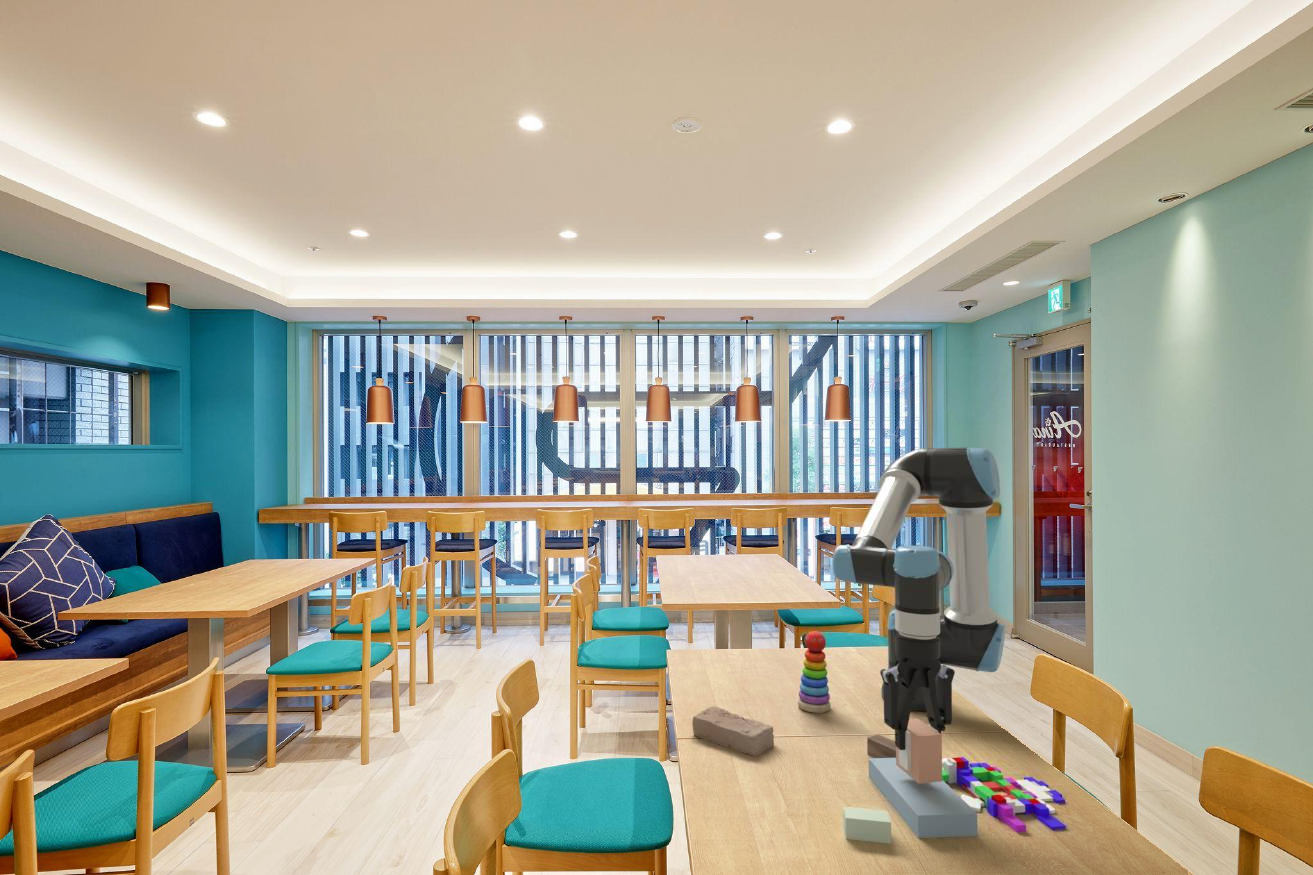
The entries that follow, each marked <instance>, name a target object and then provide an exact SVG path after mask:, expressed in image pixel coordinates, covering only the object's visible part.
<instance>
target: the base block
mask: <svg viewBox="0 0 1313 875" xmlns="http://www.w3.org/2000/svg"><path fill="white" fill-rule="evenodd" d="M868 778H869V779H870V780H871V782H872V783H873V785H874V786H875V787H876V788H877V790H879V792H880V793H881V794H882V796H883V797H884V798H885V799H886V800H887V801H888V803H889V804H890V805H891V807H893V809H894V810H895V811H896V813H897V814H898V815H899V816H900V818H901V820H902V821H904V823H905V824H906V826H908V828H909V829H910V830H911V831H912V833H913V834H914V835H915V836H916V837H917V838H918V839H925V838H926V839H928V838H951V837H952V838H953V837H955V838H956V837H959V838H960V837H977V836H978V812H977V811H974V810H973V809H972V808H971V807H970V806H969V805H968V804H967V803H966V802H965V801H964V800H963V799H962V798H961V796H960V795H959V794H958V793H957V792H956V791H954V789H953V788H951V787H950V785H948V783H947V782H946V781H943V780H942V781H941V782H931V783H922V784H919V783H917V782H916V781H915V780H914V779H913V778H911V777H910V776H909V775H908V774H907V773H905V772H904V771H903V770H902V769H900V768H899V767H898V766H897V765H896V758H875V757H873V758H872V757H871V758H870V757H869V758H868Z"/></svg>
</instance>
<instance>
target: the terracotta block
mask: <svg viewBox="0 0 1313 875" xmlns="http://www.w3.org/2000/svg"><path fill="white" fill-rule="evenodd" d="M928 725H929V724H926V723H925V722H924V721H922V720H921V719H919V718H909V722H908V727H907V730H908V731H909V732H910V733H911V771H907V770H906V769H905V768H904V767H902V766H901V765H900V764H899V749H898V748H897V747H896V765H897V766H898V767H899V768H900V769H902V770H903V771H904V772H905V773H907V774H908V775H909V776H910V777H911V778H913V779H914V780H915V781H916V782H917V783H919V784H922V783H931V782H941V781H942V769H943V766H942V759H943V741H942V740H943V739H942V736H943V735H942V733H941V734H940V733H939V732H937V731H936V730H934V729H933V728H931V727H930V726H928Z"/></svg>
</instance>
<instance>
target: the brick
mask: <svg viewBox="0 0 1313 875" xmlns="http://www.w3.org/2000/svg"><path fill="white" fill-rule="evenodd" d="M691 724H692V731H693V732H692V733H693V736H694V735H695V736H696V737H698V738H701V739H703V740H706V741H708V742H711V743H714V744H717V745H721V746H723V747H727V748H728V749H732V750H735V751H738V752H741V753H744V754H748V755H751V756H754V757H757V756H759V755H761V754H762V753H763V752H765V751H766V750H769V749H771V748H772V747H774V745H775V742H774V738H775V736H774V734H773V733H774V726H772V725H770V724H766V723H763V722H761V721H758V720H755V719H751V718H744V717H743V716H740V715H739V714H736V713H733V712H731V711H728V710H726V709H724V708H722V707H719V706H715V705H713V706H710V707H707V708H705V709H704V710H702V711H700V712H699V713H698V714H696V715H693V717H692V723H691Z"/></svg>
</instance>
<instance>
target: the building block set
mask: <svg viewBox="0 0 1313 875" xmlns="http://www.w3.org/2000/svg"><path fill="white" fill-rule="evenodd" d="M942 780H943V781H944V782H945V783H946V784H949V785H950V784H957V785H958V786H960V787H961V788H962V789H964V790H965V791H966V792H967V793H968V794H969V795H971V796H972V797H971V796H969V795H967V794H962V795H961V796H960V797H961V798H962V799H963V800H964V801H965V802H966V803H967V804H968V805H969V806H970V807H971V808H972V809H973V810H974V811H975V812H976V813H981V808H983V807H985V808H986V813H988V814H989V815H990V816H992V817H993V818H998V819H1000V820H1001V821H1002V822H1003V823H1004V824H1005V825H1007V826H1008V827H1009V828H1010V829H1012V830H1013V831H1014V832H1015V833H1027V824H1025V822H1023V821H1022V820H1020V819H1019V818H1018V817H1017V816H1016V814H1017V813H1018V814H1019V813H1021V814H1023V815H1029V814H1030V815H1031V814H1032V815H1034V816H1035V817H1037V820H1038V821H1039V822H1041V823H1042V825H1044V826H1046V827H1047V828H1048V829H1050V830H1051V831H1059V830H1061V831H1062V830H1067V825H1066V824H1065V823H1064V822H1062V821H1060V820H1059V819H1058V818H1056V816H1053V814H1055V813H1056V808H1054V807H1053V806H1052V805H1050V804H1049V803H1047V802H1045V801H1051V802H1053V803H1055V804H1057V803H1059V804H1065V803H1066V799H1064V798H1063V794H1062V793H1060V792H1059V791H1058V790H1056V789H1053V790H1052V789H1050V788H1049V784H1048V783H1046V782H1045V781H1043V780H1037V779H1035V777H1033V776H1025V777H1023V779H1016V780H1015V779H1014V778H1012V777H1004V775H1003V774H1002V771H1001V769H1000V768H998V767H997V766H991V765H989V764H988V763H987V762H973V763H971V762H970V761H969V760H968V759H967V758H965V757H964V756H961V757H960V756H959V757H946V758H945V757H944V758H942ZM983 781H984V782H983ZM1021 788H1022V789H1021ZM1020 789H1021V790H1023V791H1021V790H1020ZM1024 790H1025V791H1024ZM996 791H1003V792H1004V793H1005V794H1004V795H1001V794H997V793H996Z"/></svg>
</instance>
